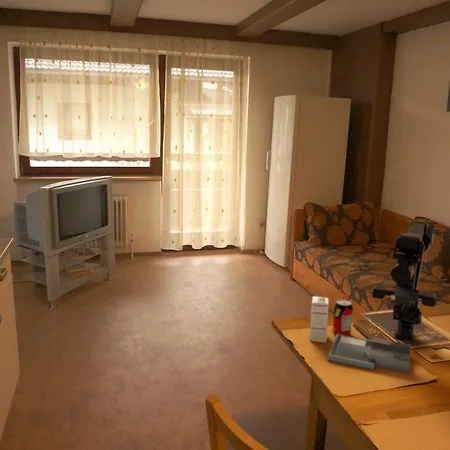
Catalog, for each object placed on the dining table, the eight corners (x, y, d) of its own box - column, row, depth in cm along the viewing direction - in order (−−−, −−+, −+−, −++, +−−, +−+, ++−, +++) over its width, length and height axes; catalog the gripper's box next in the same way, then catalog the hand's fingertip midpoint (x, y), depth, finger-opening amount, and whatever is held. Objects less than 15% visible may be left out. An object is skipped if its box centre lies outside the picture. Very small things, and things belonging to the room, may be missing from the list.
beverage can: (347, 329, 174) (350, 298, 171) (352, 337, 168) (355, 306, 165) (330, 329, 174) (332, 298, 171) (334, 337, 168) (337, 305, 165)
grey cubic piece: (352, 349, 159) (353, 338, 158) (365, 351, 157) (366, 340, 156) (351, 355, 155) (352, 343, 154) (363, 357, 154) (364, 346, 153)
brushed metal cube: (352, 349, 159) (340, 346, 160) (353, 338, 158) (341, 336, 159) (351, 354, 155) (338, 352, 157) (352, 343, 154) (339, 341, 156)
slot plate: (371, 348, 161) (372, 337, 160) (409, 355, 156) (410, 344, 156) (367, 365, 150) (369, 354, 149) (408, 374, 146) (410, 362, 145)
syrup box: (326, 343, 164) (329, 303, 160) (309, 341, 165) (311, 301, 161) (326, 335, 169) (329, 297, 166) (309, 333, 170) (312, 295, 167)
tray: (336, 339, 167) (336, 333, 166) (378, 347, 162) (378, 341, 161) (328, 360, 152) (328, 355, 152) (373, 370, 147) (374, 364, 147)
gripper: (372, 278, 147) (368, 324, 151) (438, 287, 141) (432, 336, 144) (375, 267, 157) (371, 311, 161) (437, 275, 151) (431, 321, 154)
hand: (400, 319), depth 155 cm, fingers closed
